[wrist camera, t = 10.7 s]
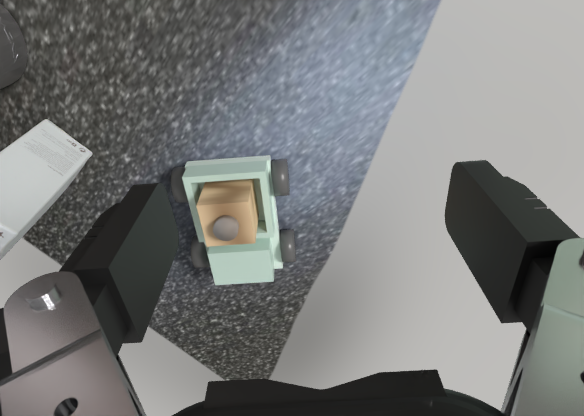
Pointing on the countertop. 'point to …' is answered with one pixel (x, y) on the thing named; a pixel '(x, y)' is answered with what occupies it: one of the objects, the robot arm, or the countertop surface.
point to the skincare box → (35, 178)
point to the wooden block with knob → (228, 212)
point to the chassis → (269, 243)
